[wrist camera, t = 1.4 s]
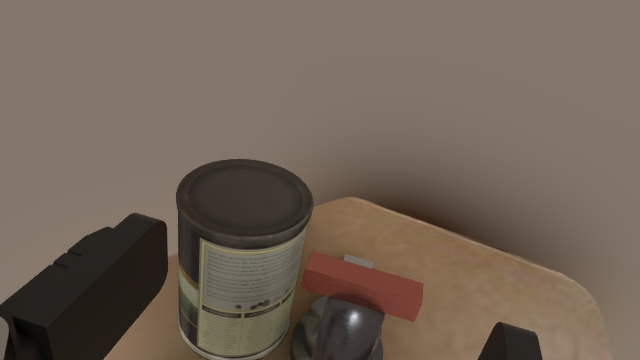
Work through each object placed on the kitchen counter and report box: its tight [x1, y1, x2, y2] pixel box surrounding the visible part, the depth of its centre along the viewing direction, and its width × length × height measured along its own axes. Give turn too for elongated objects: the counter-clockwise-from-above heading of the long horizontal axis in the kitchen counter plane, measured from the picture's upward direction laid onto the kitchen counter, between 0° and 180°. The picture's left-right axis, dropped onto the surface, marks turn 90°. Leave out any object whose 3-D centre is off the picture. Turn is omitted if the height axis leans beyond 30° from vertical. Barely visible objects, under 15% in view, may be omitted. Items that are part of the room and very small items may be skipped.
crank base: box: [291, 314, 383, 360], centre depth 40 cm, size 8×8×2 cm
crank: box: [301, 251, 423, 360], centre depth 34 cm, size 20×6×16 cm, turn 166°
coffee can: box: [176, 159, 313, 360], centre depth 38 cm, size 10×10×14 cm
